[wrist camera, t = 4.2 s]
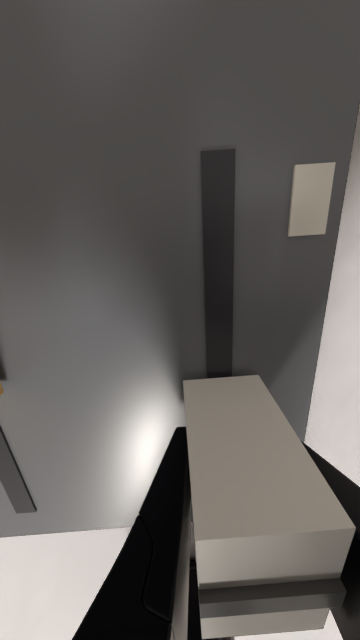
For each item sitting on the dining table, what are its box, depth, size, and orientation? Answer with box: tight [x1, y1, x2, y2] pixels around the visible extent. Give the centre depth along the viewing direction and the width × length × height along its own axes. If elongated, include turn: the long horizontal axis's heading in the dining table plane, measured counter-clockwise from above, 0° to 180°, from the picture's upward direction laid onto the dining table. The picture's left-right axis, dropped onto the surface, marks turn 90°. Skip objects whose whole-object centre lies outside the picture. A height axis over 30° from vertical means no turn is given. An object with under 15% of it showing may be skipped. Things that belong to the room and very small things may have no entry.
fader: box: [183, 375, 356, 639], centre depth 7 cm, size 4×3×5 cm
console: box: [0, 0, 360, 537], centre depth 10 cm, size 21×18×3 cm
